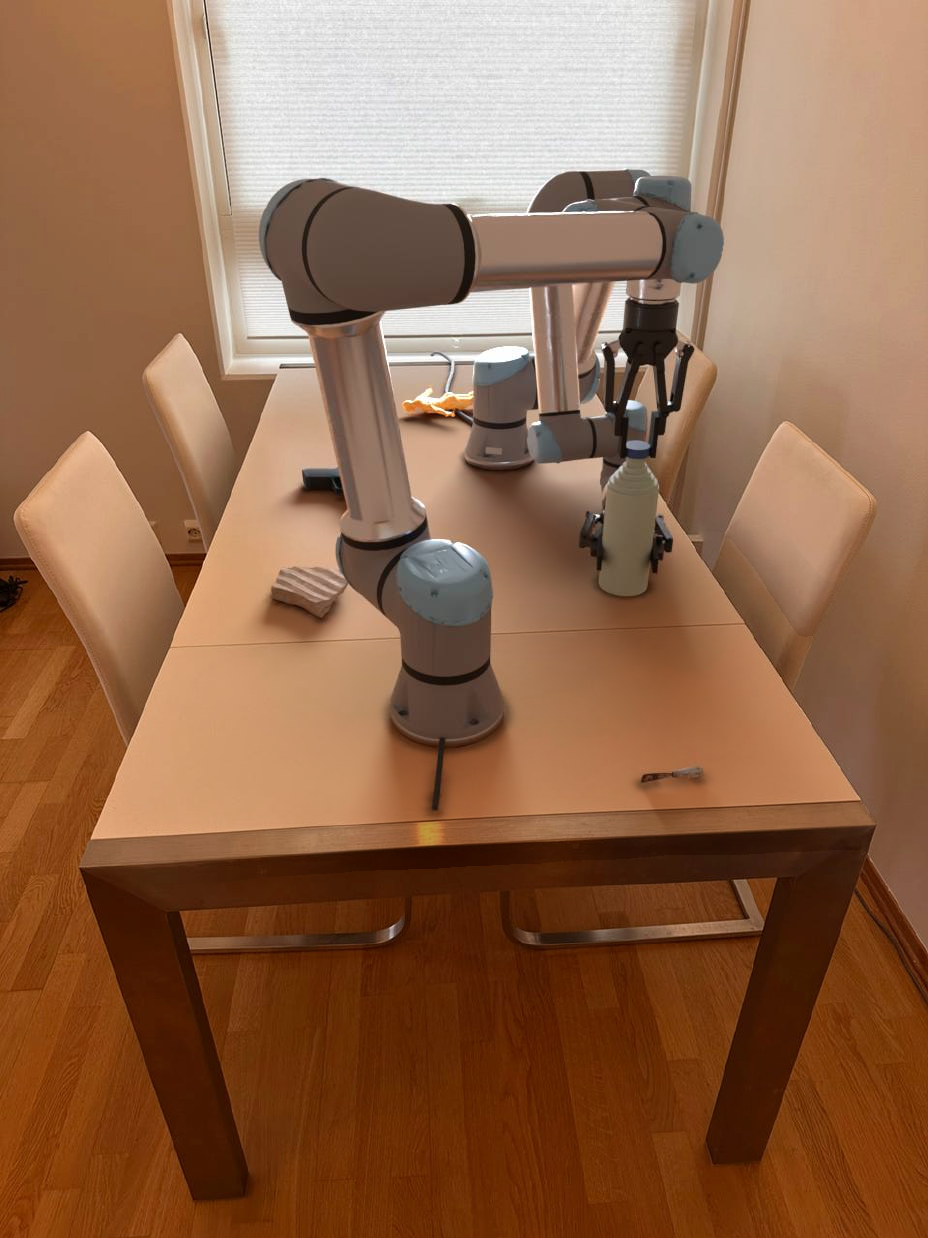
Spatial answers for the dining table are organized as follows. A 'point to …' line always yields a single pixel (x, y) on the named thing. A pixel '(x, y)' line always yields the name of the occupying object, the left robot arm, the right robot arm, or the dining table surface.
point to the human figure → (439, 403)
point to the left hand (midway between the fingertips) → (636, 454)
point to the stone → (309, 587)
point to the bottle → (628, 529)
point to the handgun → (322, 479)
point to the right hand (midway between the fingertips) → (627, 564)
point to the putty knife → (674, 774)
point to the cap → (637, 449)
